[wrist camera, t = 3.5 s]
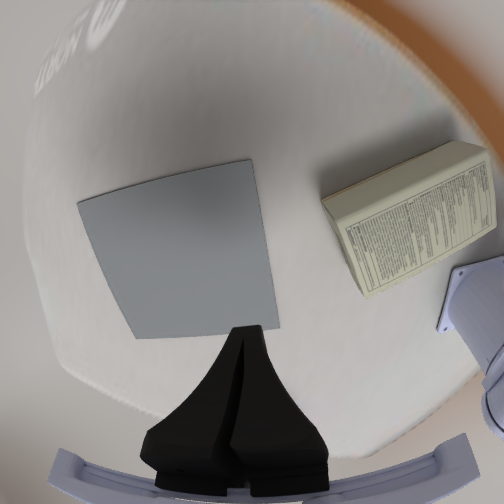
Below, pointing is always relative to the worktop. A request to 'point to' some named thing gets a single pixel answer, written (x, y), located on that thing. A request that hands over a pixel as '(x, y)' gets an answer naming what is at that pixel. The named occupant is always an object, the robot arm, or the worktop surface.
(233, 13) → the worktop surface
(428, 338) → the worktop surface
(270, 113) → the worktop surface
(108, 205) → the rubber mat
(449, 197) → the skincare box
